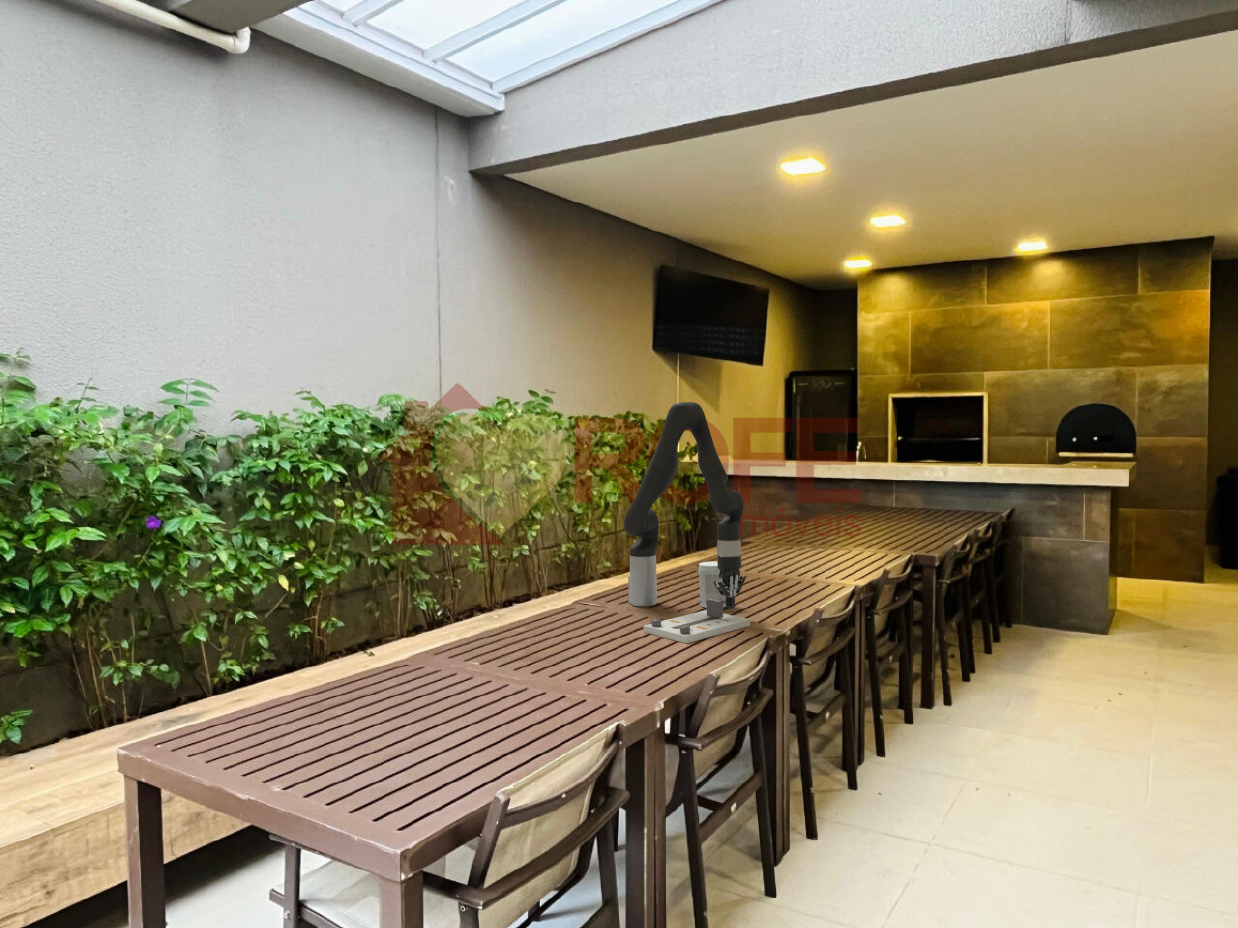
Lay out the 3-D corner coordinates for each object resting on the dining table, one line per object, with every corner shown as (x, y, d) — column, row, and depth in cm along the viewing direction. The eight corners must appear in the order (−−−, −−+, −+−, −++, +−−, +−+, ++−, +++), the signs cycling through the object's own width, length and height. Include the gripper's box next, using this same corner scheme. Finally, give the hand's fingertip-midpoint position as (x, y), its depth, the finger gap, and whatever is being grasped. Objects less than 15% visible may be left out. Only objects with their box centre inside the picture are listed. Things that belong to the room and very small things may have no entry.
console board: (643, 632, 249) (643, 619, 249) (707, 616, 267) (706, 604, 267) (686, 643, 235) (686, 630, 235) (750, 625, 254) (749, 613, 254)
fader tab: (706, 615, 258) (706, 599, 257) (711, 614, 259) (710, 598, 259) (718, 618, 254) (718, 601, 254) (723, 617, 255) (722, 600, 255)
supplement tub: (733, 605, 281) (732, 563, 280) (715, 610, 274) (715, 567, 274) (711, 601, 288) (710, 560, 287) (693, 606, 281) (693, 563, 281)
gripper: (733, 550, 267) (735, 602, 268) (706, 555, 259) (707, 609, 259) (751, 552, 262) (753, 606, 262) (724, 557, 253) (725, 613, 254)
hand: (730, 608), depth 261 cm, fingers closed
